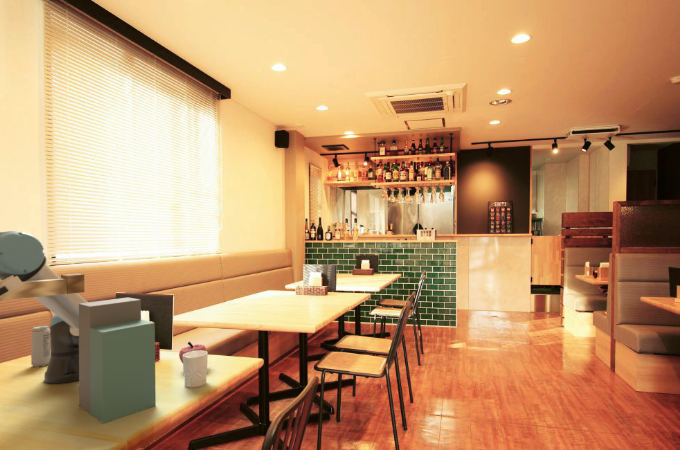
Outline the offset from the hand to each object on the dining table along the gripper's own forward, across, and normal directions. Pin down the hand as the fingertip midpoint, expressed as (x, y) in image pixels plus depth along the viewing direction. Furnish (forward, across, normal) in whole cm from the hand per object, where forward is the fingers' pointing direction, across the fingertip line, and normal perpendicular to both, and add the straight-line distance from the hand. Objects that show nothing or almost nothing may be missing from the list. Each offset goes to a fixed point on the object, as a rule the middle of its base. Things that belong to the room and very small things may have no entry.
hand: (17, 280), depth 104 cm
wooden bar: (0, 0, -6) cm, 6 cm away
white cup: (+20, +7, -56) cm, 60 cm away
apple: (+27, -8, -60) cm, 66 cm away
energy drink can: (-2, -62, -44) cm, 76 cm away
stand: (0, +4, -45) cm, 45 cm away
